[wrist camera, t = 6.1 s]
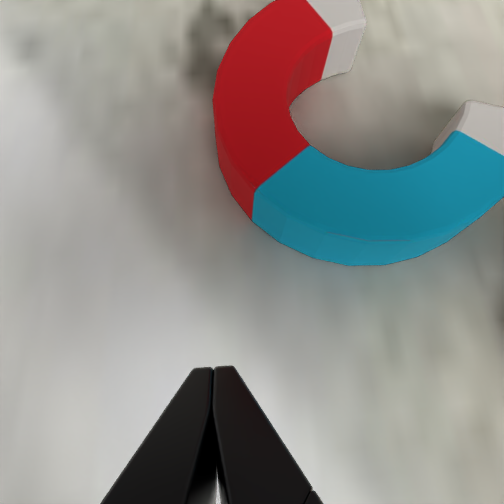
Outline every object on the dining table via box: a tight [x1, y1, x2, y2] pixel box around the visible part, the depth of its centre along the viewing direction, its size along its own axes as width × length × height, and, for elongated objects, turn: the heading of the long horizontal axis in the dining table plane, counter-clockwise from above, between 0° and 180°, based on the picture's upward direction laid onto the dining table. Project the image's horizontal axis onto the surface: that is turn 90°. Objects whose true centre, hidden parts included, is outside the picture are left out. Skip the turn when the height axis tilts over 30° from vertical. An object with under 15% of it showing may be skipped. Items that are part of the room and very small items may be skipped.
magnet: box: [213, 0, 504, 266], centre depth 16 cm, size 12×3×10 cm
